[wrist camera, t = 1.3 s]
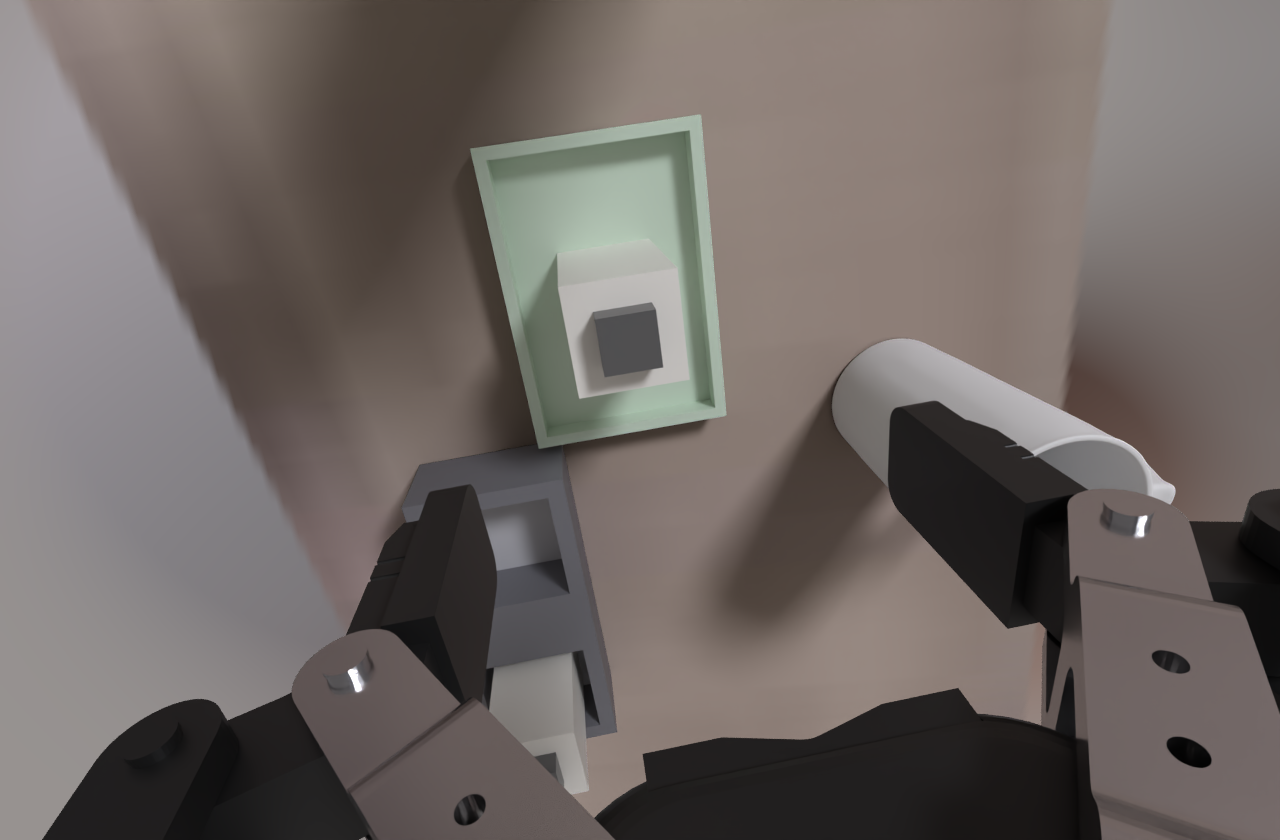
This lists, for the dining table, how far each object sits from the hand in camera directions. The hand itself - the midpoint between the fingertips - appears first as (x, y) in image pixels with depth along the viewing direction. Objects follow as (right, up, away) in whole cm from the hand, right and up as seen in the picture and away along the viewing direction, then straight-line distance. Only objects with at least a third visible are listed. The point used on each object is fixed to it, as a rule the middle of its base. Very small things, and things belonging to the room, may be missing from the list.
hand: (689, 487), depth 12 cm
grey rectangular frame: (-7, -7, +22) cm, 25 cm away
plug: (-2, +7, +16) cm, 18 cm away
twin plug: (-6, -12, +23) cm, 27 cm away
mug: (+14, +3, +21) cm, 25 cm away
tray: (-2, +7, +16) cm, 18 cm away
